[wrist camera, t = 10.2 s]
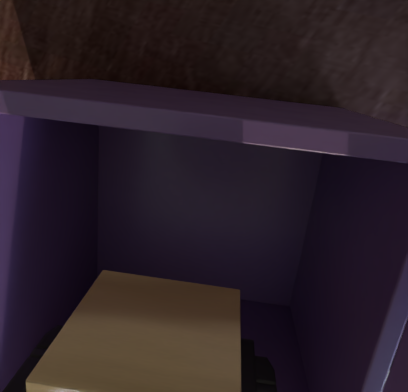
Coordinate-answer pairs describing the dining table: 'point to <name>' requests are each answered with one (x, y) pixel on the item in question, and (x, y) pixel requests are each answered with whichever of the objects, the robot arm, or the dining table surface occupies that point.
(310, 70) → the dining table surface
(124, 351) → the block
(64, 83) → the box
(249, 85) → the dining table surface
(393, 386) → the lid
